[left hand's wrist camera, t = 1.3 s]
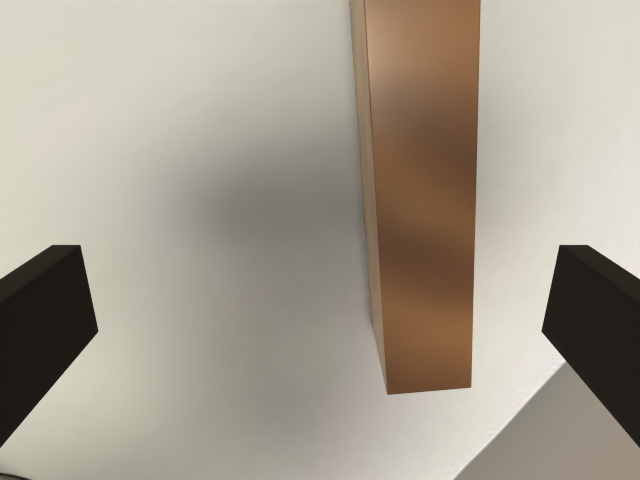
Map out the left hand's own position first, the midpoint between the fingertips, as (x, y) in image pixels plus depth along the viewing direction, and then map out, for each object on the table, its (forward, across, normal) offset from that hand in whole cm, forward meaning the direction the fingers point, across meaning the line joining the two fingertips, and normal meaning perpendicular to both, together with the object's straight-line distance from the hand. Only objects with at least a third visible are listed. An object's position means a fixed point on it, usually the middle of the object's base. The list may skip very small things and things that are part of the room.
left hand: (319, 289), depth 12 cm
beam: (+18, -2, -26) cm, 32 cm away
